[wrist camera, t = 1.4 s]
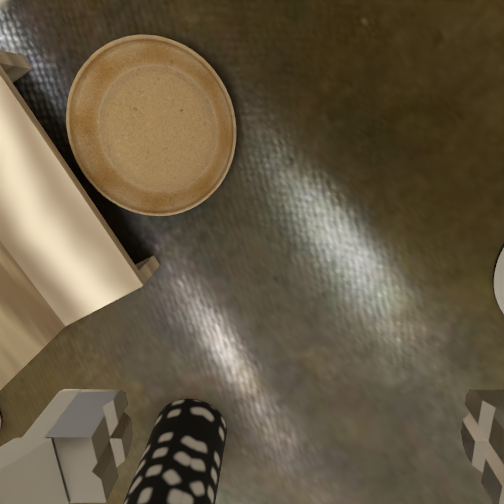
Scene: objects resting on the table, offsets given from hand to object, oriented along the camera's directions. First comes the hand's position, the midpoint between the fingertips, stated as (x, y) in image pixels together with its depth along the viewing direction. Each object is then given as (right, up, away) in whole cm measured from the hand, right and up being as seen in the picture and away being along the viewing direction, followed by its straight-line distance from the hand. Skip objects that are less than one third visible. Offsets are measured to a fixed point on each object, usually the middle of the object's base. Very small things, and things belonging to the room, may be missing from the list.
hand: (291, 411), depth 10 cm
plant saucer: (-9, +15, +27) cm, 32 cm away
